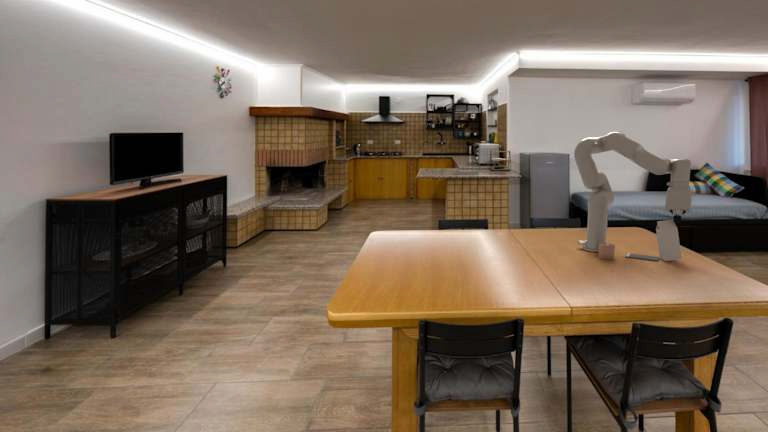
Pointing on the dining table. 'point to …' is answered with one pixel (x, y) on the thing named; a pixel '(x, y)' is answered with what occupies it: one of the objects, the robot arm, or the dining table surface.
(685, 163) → the robot arm
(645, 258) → the grey flat bar
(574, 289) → the dining table surface
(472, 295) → the dining table surface
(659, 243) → the milk carton
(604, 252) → the tan block
